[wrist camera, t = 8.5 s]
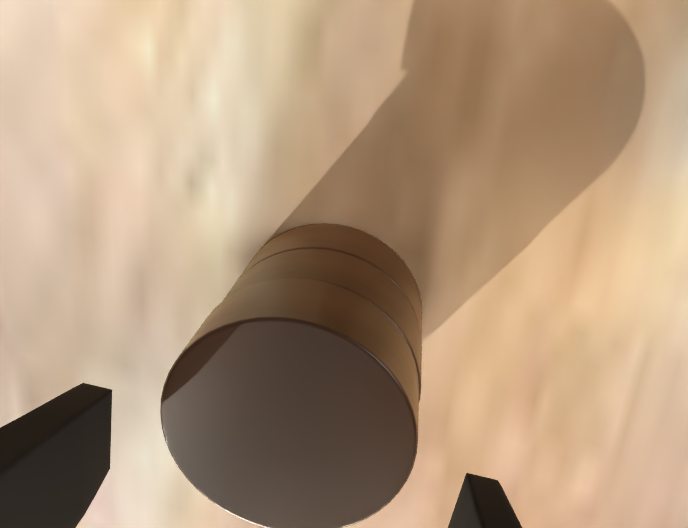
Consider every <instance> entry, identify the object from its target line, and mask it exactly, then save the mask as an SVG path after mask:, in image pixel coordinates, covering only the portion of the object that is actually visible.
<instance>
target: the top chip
mask: <svg viewBox="0 0 688 528" xmlns="http://www.w3.org/2000/svg"><path fill="white" fill-rule="evenodd" d="M418 412H419V381H418V372H417V368H416V364H415V360H414V358H413V355H412V352H411V350H410V348H409V346H408V344H407V342H406V340H405V339H404V337H403V335H402V334H401V333H400V331H399V330H398V329H397V327H396V326H395V325H394V323H393V322H392V321H391V320H390V319H389V318H388V317H387V316H386V315H385V314H384V313H383V312H382V311H380V310H379V309H378V308H377V307H375V306H374V305H373V304H372V303H370V302H369V301H367V300H365V299H364V298H362V297H361V296H359V295H357V294H355V293H353V292H351V291H349V290H347V289H344V288H342V287H339V286H336V285H333V284H330V283H327V282H322V281H317V280H312V279H300V278H287V279H275V280H270V281H264V282H261V283H257V284H254V285H251V286H248V287H246V288H244V289H242V290H240V291H238V292H236V293H234V294H233V295H231V296H230V297H228V298H227V299H225V300H224V301H223V302H222V303H220V304H219V305H218V306H217V307H216V308H215V309H214V310H213V311H212V312H211V314H210V315H209V316H208V317H207V318H206V320H205V321H204V322H203V324H202V325H201V327H200V328H199V329H198V331H197V332H196V333H195V335H194V336H193V338H192V339H191V340H190V342H189V343H188V344H187V346H186V347H185V349H184V350H183V351H182V353H181V354H180V355H179V357H178V358H177V360H176V361H175V363H174V364H173V366H172V368H171V370H170V371H169V373H168V376H167V379H166V381H165V384H164V387H163V392H162V397H161V423H162V429H163V433H164V437H165V441H166V443H167V446H168V448H169V450H170V453H171V455H172V457H173V458H174V460H175V462H176V464H177V465H178V467H179V468H180V470H181V471H182V472H183V474H184V475H185V476H186V478H187V479H188V480H189V481H190V482H191V483H192V484H193V485H194V486H195V487H196V489H197V490H199V491H200V492H201V493H202V494H203V495H204V496H206V497H207V498H208V499H209V500H211V501H212V502H213V503H215V504H216V505H218V506H219V507H221V508H222V509H224V510H226V511H228V512H229V513H231V514H233V515H235V516H237V517H239V518H242V519H244V520H246V521H248V522H251V523H254V524H257V525H260V526H263V527H267V528H343V527H347V526H350V525H353V524H356V523H358V522H360V521H362V520H364V519H367V518H368V517H370V516H372V515H373V514H375V513H377V512H378V511H380V510H381V509H382V508H383V507H385V506H386V505H387V504H388V503H389V502H390V501H391V500H392V499H393V498H394V497H395V496H396V495H397V494H398V493H399V491H400V490H401V488H402V487H403V485H404V484H405V482H406V481H407V479H408V477H409V475H410V473H411V470H412V468H413V465H414V462H415V458H416V454H417V444H418Z"/></svg>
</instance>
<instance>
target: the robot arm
mask: <svg viewBox="0 0 688 528" xmlns="http://www.w3.org/2000/svg"><path fill="white" fill-rule="evenodd" d="M111 408H112V390H111V389H107V388H102V387H98V386H94V385H90V384H85V383H82V384H80V385H78V386H76V387H74V388H72V389H71V390H69V391H67V392H65V393H63V394H61V395H60V396H58V397H56V398H54V399H52V400H51V401H49V402H47V403H45V404H43V405H42V406H40V407H38V408H36V409H34V410H32V411H31V412H29V413H27V414H25V415H23V416H22V417H20V418H18V419H16V420H14V421H12V422H10V423H8V424H7V425H5V426H3V427H1V428H0V528H75V527H76V526H77V524H78V523H79V522H80V520H81V519H82V517H83V516H84V514H85V513H86V511H87V509H88V507H89V506H90V504H91V502H92V500H93V499H94V497H95V495H96V493H97V491H98V490H99V488H100V486H101V484H102V482H103V480H104V478H105V476H106V475H107V473H108V471H109V469H110V446H111ZM448 528H522V526H521V524H520V522H519V520H518V519H517V517H516V515H515V513H514V511H513V509H512V507H511V505H510V503H509V501H508V499H507V496H506V494H505V492H504V490H503V488H502V486H501V485H500V483H499V482H498V480H494V479H490V478H486V477H481V476H477V475H473V474H469V473H466V476H465V479H464V482H463V485H462V488H461V491H460V494H459V497H458V500H457V503H456V506H455V508H454V511H453V514H452V517H451V520H450V523H449V526H448Z"/></svg>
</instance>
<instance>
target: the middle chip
mask: <svg viewBox="0 0 688 528" xmlns="http://www.w3.org/2000/svg"><path fill="white" fill-rule="evenodd" d="M287 278H300V279H312V280H317V281H322V282H327V283H330V284H333V285H336V286H339V287H342V288H344V289H347V290H349V291H351V292H353V293H355V294H357V295H359V296H361V297H362V298H364V299H365V300H367V301H369V302H370V303H372V304H373V305H374V306H375V307H377V308H378V309H379V310H380V311H382V312H383V313H384V314H385V315H386V316H387V317H388V318H389V319H390V320H391V321H392V322H393V323H394V325H395V326H396V327H397V329H398V330H399V331H400V333H401V334H402V335H403V337H404V339H405V340H406V342H407V344H408V346H409V348H410V350H411V352H412V355H413V358H414V360H415V364H416V368H417V372H418V381H419V401H420V393H421V360H422V344H421V333H420V329H419V324H418V321H417V318H416V316H415V313H414V311H413V309H412V307H411V305H410V303H409V301H408V300H407V298H406V297H405V295H404V294H403V293H402V291H401V290H400V289H399V288H398V287H397V286H396V285H395V283H394V282H393V281H392V280H391V279H390V278H388V277H387V276H386V275H385V274H383V273H382V272H381V271H380V270H378V269H377V268H375V267H373V266H372V265H370V264H369V263H367V262H365V261H362V260H360V259H358V258H356V257H354V256H351V255H348V254H344V253H341V252H337V251H332V250H326V249H297V250H292V251H286V252H283V253H280V254H277V255H273V256H271V257H269V258H267V259H265V260H263V261H261V262H259V263H258V264H256V265H255V266H253V267H252V268H250V269H249V270H248V271H247V272H246V273H245V274H243V275H242V276H241V277H240V279H239V280H238V281H237V282H236V283H235V285H234V286H233V287H232V289H231V290H230V291H229V293H228V294H227V296H226V297H225V298H224V300H225V299H227V298H228V297H230V296H231V295H233V294H234V293H236V292H238V291H240V290H242V289H244V288H246V287H248V286H251V285H254V284H257V283H261V282H264V281H270V280H275V279H287ZM224 300H223V301H224ZM223 301H222V302H223Z"/></svg>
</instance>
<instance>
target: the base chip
mask: <svg viewBox="0 0 688 528" xmlns="http://www.w3.org/2000/svg"><path fill="white" fill-rule="evenodd" d="M297 249H326V250H332V251H337V252H341V253H344V254H348V255H351V256H354V257H356V258H358V259H360V260H362V261H365V262H367V263H369V264H370V265H372V266H373V267H375V268H377V269H378V270H380V271H381V272H382V273H383V274H385V275H386V276H387V277H388V278H390V279H391V280H392V281H393V282H394V283H395V285H396V286H397V287H398V288H399V289H400V290H401V291H402V293H403V294H404V295H405V297H406V298H407V300H408V301H409V303H410V305H411V307H412V309H413V311H414V313H415V316H416V318H417V321H418V324H419V329H420V333H421V344H422V302H421V298H420V293H419V289H418V287H417V284H416V281H415V279H414V277H413V275H412V273H411V272H410V270H409V268H408V267H407V266H406V264H405V263H404V261H403V260H402V259H401V258H400V257H399V256H398V255H397V254H396V253H395V252H394V251H393V250H392V249H391V248H390V247H388V246H387V245H386V244H385V243H383V242H382V241H380V240H379V239H377V238H375V237H374V236H372V235H370V234H367V233H365V232H363V231H361V230H357V229H354V228H351V227H347V226H342V225H335V224H313V225H307V226H302V227H298V228H295V229H292V230H289V231H287V232H285V233H283V234H281V235H279V236H277V237H276V238H274V239H273V240H271V241H270V242H268V243H267V244H266V245H265V246H264V247H263V248H262V249H260V251H259V252H258V253H257V254H256V255H255V257H254V258H253V259H252V261H251V262H250V263H249V265H248V266H247V268H246V269H245V270H244V272H243V273H242V275H243V274H245V273H246V272H247V271H248V270H249V269H250V268H252V267H253V266H255V265H256V264H258V263H259V262H261V261H263V260H265V259H267V258H269V257H271V256H273V255H277V254H280V253H283V252H286V251H292V250H297ZM242 275H241V276H242ZM241 276H240V277H241ZM240 277H239V279H240ZM239 279H238V280H239ZM238 280H237V281H238Z"/></svg>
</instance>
